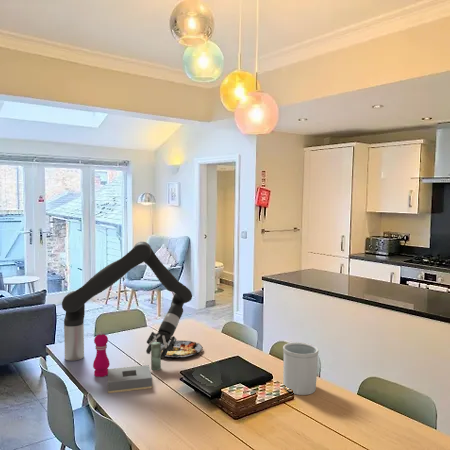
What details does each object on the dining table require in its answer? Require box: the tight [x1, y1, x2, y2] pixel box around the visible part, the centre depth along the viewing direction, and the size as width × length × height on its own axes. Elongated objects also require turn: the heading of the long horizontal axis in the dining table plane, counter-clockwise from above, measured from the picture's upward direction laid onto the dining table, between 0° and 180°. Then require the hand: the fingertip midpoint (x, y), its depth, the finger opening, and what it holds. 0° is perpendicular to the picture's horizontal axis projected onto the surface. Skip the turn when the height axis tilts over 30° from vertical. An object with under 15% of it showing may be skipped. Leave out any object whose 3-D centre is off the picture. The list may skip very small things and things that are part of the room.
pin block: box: [107, 364, 153, 394], centre depth 182 cm, size 14×18×4 cm
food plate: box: [161, 340, 203, 358], centre depth 220 cm, size 25×23×4 cm
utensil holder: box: [282, 341, 320, 396], centre depth 179 cm, size 15×15×18 cm
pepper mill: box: [92, 330, 111, 378], centre depth 191 cm, size 7×7×20 cm
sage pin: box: [150, 342, 162, 371], centre depth 198 cm, size 4×4×12 cm
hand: (154, 355), depth 197 cm, fingers open, 8 cm apart
